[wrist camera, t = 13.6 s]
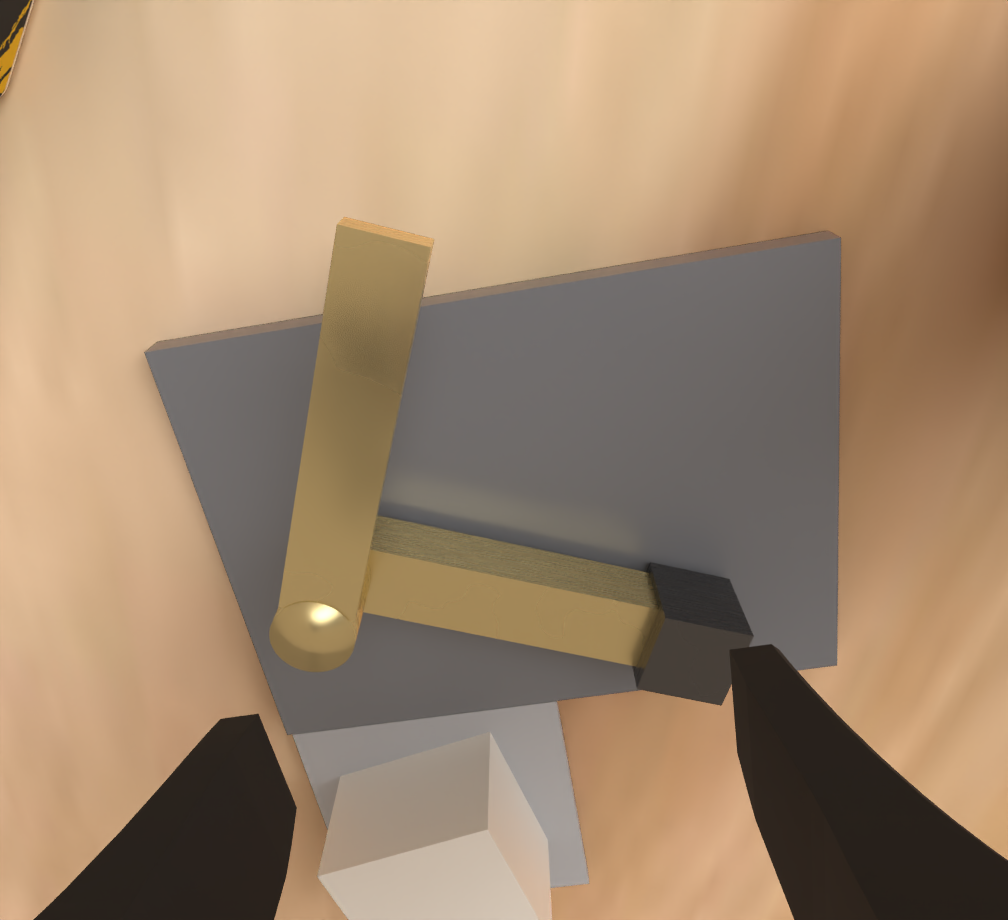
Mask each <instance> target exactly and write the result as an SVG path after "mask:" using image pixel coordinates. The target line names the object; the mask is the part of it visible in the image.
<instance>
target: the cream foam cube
mask: <svg viewBox="0 0 1008 920" xmlns="http://www.w3.org/2000/svg"><path fill="white" fill-rule="evenodd" d="M317 877H318V879H319V880H320V881H321V883H322V884H323V886H324V887H325V888H326V890H327V891H328V892H329V894H330V895H331V897H332V898H333V899H334V901H335V902H336V904H337V905H338V906H339V908H340V909H341V910H342V912H343V913H344V915H345V916H346V917H347V919H348V920H552V909H551V889H550V870H549V851H548V839H547V838H546V836H545V834H544V832H543V830H542V828H541V826H540V824H539V823H538V821H537V819H536V817H535V815H534V813H533V811H532V809H531V807H530V806H529V804H528V802H527V800H526V798H525V796H524V794H523V792H522V791H521V789H520V787H519V785H518V783H517V781H516V779H515V777H514V775H513V774H512V772H511V770H510V768H509V766H508V764H507V762H506V760H505V759H504V757H503V755H502V753H501V751H500V749H499V747H498V745H497V744H496V742H495V740H494V738H493V736H492V734H491V732H487V733H484V734H481V735H477V736H474V737H471V738H467V739H464V740H460V741H457V742H454V743H450V744H447V745H444V746H440V747H437V748H434V749H430V750H427V751H423V752H420V753H417V754H413V755H410V756H407V757H403V758H400V759H396V760H393V761H390V762H386V763H383V764H380V765H376V766H373V767H370V768H366V769H363V770H359V771H356V772H353V773H349V774H346V775H343V776H340V780H339V784H338V789H337V793H336V797H335V802H334V806H333V810H332V814H331V819H330V823H329V827H328V832H327V836H326V840H325V845H324V849H323V853H322V858H321V862H320V866H319V870H318V875H317Z"/></svg>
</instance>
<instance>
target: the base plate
mask: <svg viewBox="0 0 1008 920" xmlns="http://www.w3.org/2000/svg"><path fill="white" fill-rule="evenodd" d="M840 290H841V237H839V236H837V235H835V234H834V233H832V232H830V231H823V232H817V233H811V234H805V235H799V236H793V237H787V238H781V239H775V240H769V241H763V242H757V243H751V244H745V245H739V246H733V247H726V248H720V249H714V250H708V251H702V252H696V253H690V254H684V255H678V256H672V257H666V258H660V259H654V260H648V261H642V262H636V263H630V264H624V265H618V266H612V267H606V268H600V269H594V270H588V271H582V272H576V273H570V274H563V275H557V276H551V277H545V278H539V279H533V280H527V281H521V282H515V283H509V284H503V285H497V286H491V287H485V288H479V289H473V290H467V291H461V292H455V293H449V294H443V295H437V296H431V297H425V298H422V302H421V307H420V312H419V316H418V321H417V326H416V331H415V336H414V341H413V346H412V351H411V355H410V360H409V365H408V370H407V375H406V380H405V385H404V390H403V394H402V399H401V404H400V409H399V414H398V419H397V424H396V429H395V434H394V438H393V443H392V448H391V453H390V458H389V463H388V468H387V473H386V477H385V482H384V487H383V492H382V497H381V502H380V507H379V512H378V515H379V516H384V517H388V518H393V519H398V520H403V521H407V522H412V523H417V524H422V525H426V526H431V527H436V528H440V529H445V530H450V531H455V532H459V533H464V534H469V535H474V536H478V537H483V538H488V539H492V540H497V541H502V542H507V543H511V544H516V545H521V546H526V547H530V548H535V549H540V550H544V551H549V552H554V553H559V554H563V555H568V556H573V557H577V558H582V559H587V560H592V561H596V562H601V563H606V564H611V565H615V566H620V567H625V568H629V569H634V570H639V571H644V572H646V571H647V568H648V565H649V563H650V562H652V563H657V564H662V565H666V566H671V567H676V568H680V569H685V570H690V571H694V572H699V573H704V574H709V575H713V576H718V577H723V578H727V579H730V581H731V584H732V586H733V588H734V591H735V593H736V595H737V598H738V600H739V602H740V605H741V607H742V610H743V612H744V614H745V617H746V619H747V621H748V624H749V626H750V628H751V631H752V633H753V635H754V637H753V639H752V641H751V643H750V646H749V647H753V646H760V645H767V644H772V645H774V646H775V647H776V648H778V649H779V650H780V651H781V652H782V653H783V655H784V656H785V657H786V658H787V660H788V661H789V662H790V663H791V664H792V665H793V667H794V668H795V669H796V670H804V669H812V668H820V667H828V666H836V665H837V614H838V506H839V398H840ZM322 319H323V314H322V315H316V316H310V317H304V318H298V319H292V320H286V321H280V322H274V323H268V324H262V325H256V326H250V327H244V328H237V329H231V330H225V331H219V332H213V333H207V334H201V335H195V336H189V337H183V338H177V339H171V340H165V341H159V342H156V343H155V344H154V345H153V346H152V347H150V348H149V349H148V350H147V351H145V352H144V353H145V355H146V358H147V361H148V363H149V366H150V369H151V371H152V374H153V377H154V379H155V382H156V385H157V388H158V390H159V393H160V396H161V398H162V401H163V404H164V406H165V409H166V412H167V414H168V417H169V420H170V422H171V425H172V428H173V430H174V433H175V436H176V438H177V441H178V444H179V446H180V449H181V452H182V454H183V457H184V460H185V462H186V465H187V468H188V471H189V473H190V476H191V479H192V481H193V484H194V487H195V489H196V492H197V495H198V497H199V500H200V503H201V505H202V508H203V511H204V513H205V516H206V519H207V521H208V524H209V527H210V529H211V532H212V535H213V537H214V540H215V543H216V545H217V548H218V551H219V554H220V556H221V559H222V562H223V564H224V567H225V570H226V572H227V575H228V578H229V580H230V583H231V586H232V588H233V591H234V594H235V596H236V599H237V602H238V604H239V607H240V610H241V612H242V615H243V618H244V620H245V623H246V626H247V629H248V631H249V634H250V637H251V639H252V642H253V645H254V647H255V650H256V653H257V655H258V658H259V661H260V663H261V666H262V669H263V671H264V674H265V677H266V679H267V682H268V685H269V687H270V690H271V693H272V695H273V698H274V701H275V703H276V706H277V709H278V712H279V714H280V717H281V720H282V722H283V725H284V728H285V730H286V733H287V735H290V734H298V733H306V732H314V731H322V730H330V729H338V728H346V727H354V726H362V725H369V724H377V723H385V722H393V721H401V720H409V719H417V718H425V717H433V716H441V715H448V714H456V713H464V712H472V711H480V710H488V709H496V708H504V707H512V706H520V705H527V704H535V703H543V702H551V701H559V700H567V699H575V698H583V697H591V696H599V695H607V694H614V693H622V692H630V691H638V690H640V689H637V687H636V682H635V677H634V672H633V667H632V666H631V665H626V664H621V663H616V662H611V661H606V660H601V659H596V658H591V657H586V656H581V655H576V654H571V653H566V652H560V651H555V650H550V649H545V648H540V647H535V646H530V645H525V644H520V643H515V642H510V641H505V640H500V639H495V638H490V637H485V636H480V635H475V634H470V633H465V632H460V631H455V630H450V629H445V628H440V627H435V626H430V625H425V624H420V623H415V622H410V621H405V620H400V619H395V618H390V617H385V616H380V615H375V614H370V613H365V612H363V615H362V619H361V623H360V627H359V630H358V634H357V638H356V642H355V646H354V649H353V652H352V654H351V656H350V657H349V659H348V660H347V661H346V662H345V663H344V664H342V665H341V666H339V667H337V668H335V669H333V670H329V671H324V672H308V671H303V670H300V669H297V668H294V667H292V666H290V665H289V664H287V663H286V662H284V661H283V660H282V659H281V658H280V657H279V656H278V655H277V654H276V653H275V651H274V649H273V648H272V645H271V643H270V638H269V630H270V626H271V624H272V621H273V619H274V616H275V614H276V612H277V609H278V606H279V599H280V593H281V586H282V580H283V573H284V567H285V560H286V554H287V547H288V541H289V534H290V528H291V521H292V515H293V508H294V501H295V495H296V488H297V482H298V475H299V469H300V462H301V456H302V449H303V443H304V436H305V430H306V423H307V417H308V410H309V404H310V397H311V391H312V384H313V377H314V371H315V364H316V358H317V351H318V345H319V338H320V332H321V325H322Z"/></svg>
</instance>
